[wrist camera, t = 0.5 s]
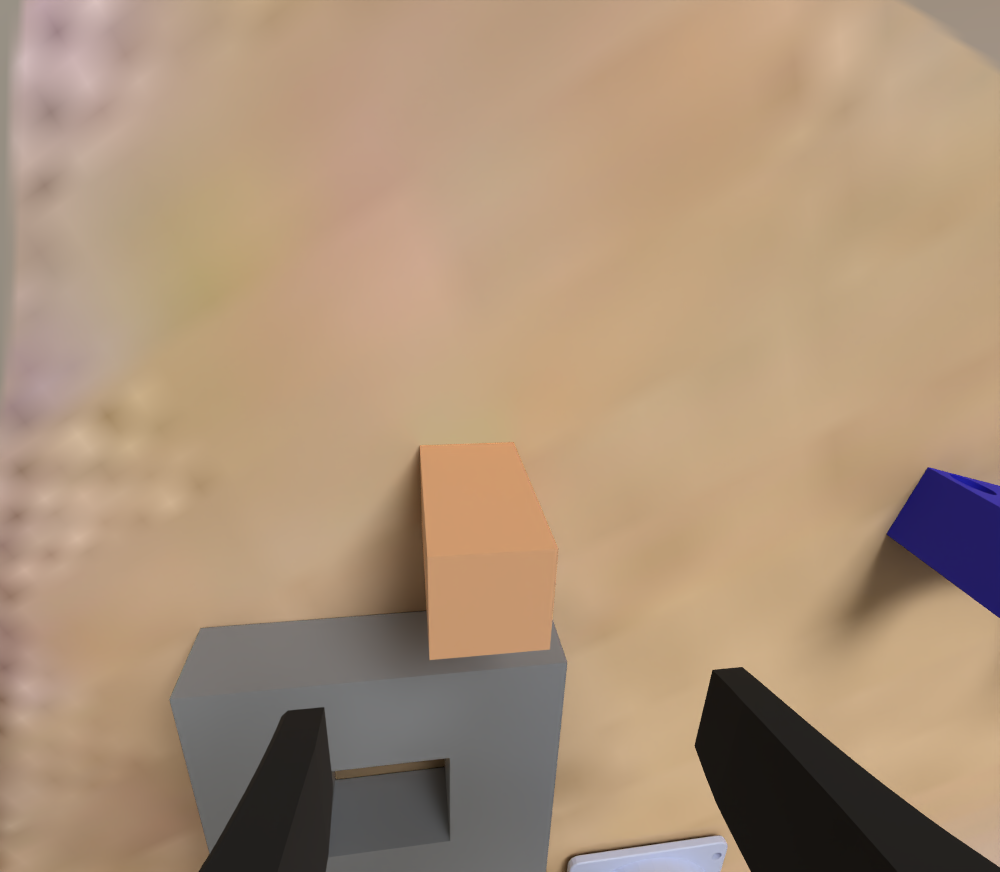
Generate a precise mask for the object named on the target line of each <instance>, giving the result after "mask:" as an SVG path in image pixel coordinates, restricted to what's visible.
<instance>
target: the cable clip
mask: <svg viewBox="0 0 1000 872" xmlns="http://www.w3.org/2000/svg"><path fill="white" fill-rule="evenodd" d="M887 535H888V536H889V537H891V538H892V539H893V540H895V541H896V542H898V543H899V544H900V545H902V546H903V547H904V548H906V549H907V550H908V551H910V552H911V553H912V554H914V555H915V556H916V557H918V558H919V559H920V560H922V561H923V562H925V563H926V564H927V565H929V566H930V567H931V568H933V569H934V570H935V571H937V572H938V573H939V574H941V575H942V576H943V577H945V578H946V579H947V580H949V581H950V582H952V583H953V584H954V585H956V586H957V587H958V588H960V589H961V590H962V591H964V592H965V593H966V594H968V595H969V596H970V597H972V598H973V599H974V600H976V601H977V602H979V603H980V604H981V605H983V606H984V607H985V608H987V609H988V610H989V611H991V612H992V613H993V614H995V615H996V616H997V617H999V618H1000V486H998V485H994V484H990V483H986V482H983V481H979V480H975V479H971V478H967V477H963V476H960V475H956V474H952V473H948V472H944V471H940V470H937V469H933V468H929V467H928V468H927V470H926V471H925V473H924V475H923V476H922V478H921V479H920V481H919V483H918V484H917V486H916V487H915V489H914V491H913V492H912V494H911V495H910V497H909V499H908V500H907V502H906V504H905V505H904V507H903V508H902V510H901V512H900V513H899V515H898V516H897V518H896V520H895V521H894V523H893V524H892V526H891V528H890V529H889V531H888V532H887Z"/></svg>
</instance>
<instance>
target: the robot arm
mask: <svg viewBox="0 0 1000 872" xmlns="http://www.w3.org/2000/svg"><path fill="white" fill-rule="evenodd" d="M695 748H696V751H697V754H698V756H699V759H700V762H701V765H702V767H703V770H704V773H705V776H706V778H707V781H708V783H709V786H710V788H711V791H712V793H713V796H714V799H715V801H716V803H717V806H718V808H719V810H720V812H721V814H722V816H723V818H724V820H725V822H726V824H727V826H728V828H729V830H730V832H731V834H732V835H733V837H734V839H735V841H736V843H737V845H738V847H739V849H740V851H741V853H742V855H743V857H744V859H745V861H746V863H747V865H748V867H749V869H750V871H751V872H1000V867H998V866H997V865H995V864H994V863H992V862H991V861H989V860H988V859H987V858H985V857H984V856H982V855H981V854H979V853H978V852H976V851H975V850H973V849H972V848H970V847H969V846H967V845H966V844H965V843H963V842H962V841H960V840H959V839H957V838H956V837H954V836H953V835H951V834H950V833H948V832H947V831H946V830H944V829H943V828H941V827H940V826H939V825H937V824H936V823H934V822H933V821H932V820H930V819H929V818H927V817H926V816H925V815H923V814H922V813H921V812H919V811H918V810H917V809H915V808H914V807H913V806H911V805H910V804H909V803H907V802H906V801H905V800H904V799H902V798H901V797H900V796H898V795H897V794H896V793H894V792H893V791H892V790H890V789H889V788H888V787H886V786H885V785H884V784H882V783H881V782H880V781H879V780H877V779H876V778H875V777H874V776H872V775H871V774H870V773H868V772H867V771H866V770H865V769H863V768H862V767H861V766H860V765H858V764H857V763H856V762H855V761H853V760H852V759H851V758H850V757H848V756H847V755H846V754H845V753H844V752H842V751H841V750H840V749H839V748H838V747H836V746H835V745H834V744H833V743H831V742H830V741H829V740H828V739H827V738H825V737H824V736H823V735H822V734H821V733H819V732H818V731H817V730H816V729H815V728H814V727H812V726H811V725H810V724H809V723H808V722H806V721H805V720H804V719H803V718H802V717H801V716H799V715H798V714H797V713H796V712H795V711H794V710H792V709H791V708H790V707H789V706H788V705H786V704H785V703H784V702H783V701H782V700H781V699H779V698H778V697H777V696H776V695H775V694H774V693H772V692H771V691H770V690H769V689H768V688H767V687H765V686H764V685H763V684H762V683H761V682H760V681H758V680H757V679H756V678H755V677H754V676H752V675H751V674H750V673H749V672H747V671H746V670H745V669H744V668H743V667H738V668H728V669H717V670H712V675H711V679H710V683H709V687H708V691H707V696H706V700H705V704H704V708H703V712H702V717H701V721H700V725H699V729H698V734H697V738H696V742H695ZM332 801H333V780H332V771H331V762H330V753H329V744H328V735H327V727H326V718H325V709H324V707H319V708H308V709H298V710H288V711H287V712H286V713H284V714H283V715H282V716H281V719H280V721H279V723H278V726H277V728H276V730H275V732H274V735H273V737H272V739H271V741H270V743H269V745H268V747H267V750H266V752H265V754H264V756H263V758H262V760H261V762H260V764H259V766H258V768H257V770H256V772H255V773H254V775H253V777H252V779H251V781H250V783H249V785H248V787H247V789H246V791H245V793H244V794H243V796H242V798H241V800H240V802H239V803H238V805H237V807H236V809H235V810H234V812H233V814H232V816H231V818H230V819H229V821H228V823H227V825H226V826H225V828H224V830H223V832H222V834H221V835H220V837H219V839H218V841H217V842H216V844H215V846H214V847H213V849H212V851H211V853H210V854H209V856H208V857H207V859H206V861H205V862H204V864H203V865H202V867H201V869H200V870H199V872H326V867H327V861H328V855H329V842H330V829H331V815H332ZM726 851H727V843H726V841H725V839H724V837H722V836H709V837H702V838H696V839H689V840H682V841H675V842H668V843H661V844H654V845H647V846H640V847H633V848H626V849H619V850H612V851H605V852H598V853H591V854H584V855H578V856H575V857H573V858H571V859H570V861H569V863H568V868H567V872H720V871H721V868H722V864H723V861H724V857H725V854H726Z"/></svg>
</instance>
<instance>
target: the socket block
mask: <svg viewBox="0 0 1000 872" xmlns="http://www.w3.org/2000/svg"><path fill="white" fill-rule="evenodd" d="M566 670H567V660H566V657H565V654H564V651H563V648H562V646H561V643H560V640H559V637H558V634H557V631H556V628H555V625H554V622H553V619H552V631H551V642H550V650H539V651H527V652H516V653H505V654H493V655H482V656H471V657H459V658H448V659H436V660H430V659H429V642H428V625H427V611H420V612H407V613H394V614H380V615H367V616H354V617H341V618H328V619H315V620H302V621H289V622H275V623H262V624H249V625H236V626H223V627H210V628H201V629H200V631H199V633H198V635H197V638H196V640H195V642H194V645H193V647H192V649H191V651H190V654H189V656H188V658H187V660H186V663H185V665H184V667H183V670H182V672H181V674H180V676H179V679H178V681H177V683H176V686H175V688H174V690H173V692H172V695H171V697H170V699H169V700H170V703H171V707H172V711H173V715H174V719H175V723H176V727H177V730H178V734H179V738H180V742H181V746H182V750H183V753H184V757H185V761H186V765H187V769H188V773H189V776H190V780H191V784H192V788H193V792H194V796H195V800H196V803H197V807H198V811H199V815H200V819H201V823H202V826H203V830H204V834H205V838H206V842H207V846H208V850H209V853H211V851H212V849H213V847H214V846H215V844H216V842H217V841H218V839H219V837H220V835H221V834H222V832H223V830H224V828H225V826H226V825H227V823H228V821H229V819H230V818H231V816H232V814H233V812H234V810H235V809H236V807H237V805H238V803H239V802H240V800H241V798H242V796H243V794H244V793H245V791H246V789H247V787H248V785H249V783H250V781H251V779H252V777H253V775H254V773H255V772H256V770H257V768H258V766H259V764H260V762H261V760H262V758H263V756H264V754H265V752H266V750H267V747H268V745H269V743H270V741H271V739H272V737H273V735H274V732H275V730H276V728H277V726H278V723H279V721H280V719H281V716H282V715H283V714H284V713H286V712H287V711H288V710H298V709H308V708H319V707H324V709H325V718H326V727H327V735H328V744H329V753H330V762H331V771H332V780H333V801H332V815H331V829H330V842H329V855H328V861H327V867H326V872H546V866H547V856H548V846H549V837H550V827H551V817H552V807H553V797H554V788H555V778H556V768H557V758H558V748H559V739H560V729H561V719H562V709H563V700H564V690H565V680H566ZM444 758H445V767H443V768H434V769H426V770H417V771H408V772H400V773H391V774H383V775H374V776H366V777H357V778H348V779H340V780H335V771H339V770H348V769H357V768H365V767H374V766H383V765H392V764H400V763H409V762H418V761H427V760H435V759H444Z"/></svg>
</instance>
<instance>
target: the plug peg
mask: <svg viewBox="0 0 1000 872" xmlns="http://www.w3.org/2000/svg"><path fill="white" fill-rule="evenodd" d="M420 473H421V515H422V539H423V556H424V573H425V591H426V608H427V625H428V642H429V659H430V660H436V659H448V658H459V657H471V656H482V655H493V654H505V653H516V652H527V651H539V650H550V642H551V631H552V619H553V607H554V595H555V584H556V572H557V560H558V547H557V544H556V542H555V540H554V537H553V535H552V533H551V530H550V528H549V525H548V523H547V521H546V518H545V516H544V513H543V511H542V509H541V506H540V504H539V501H538V499H537V497H536V494H535V492H534V490H533V487H532V485H531V482H530V480H529V478H528V475H527V473H526V470H525V468H524V466H523V463H522V461H521V459H520V456H519V454H518V451H517V449H516V447H515V444H514V442H509V443H480V444H450V445H420Z"/></svg>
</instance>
